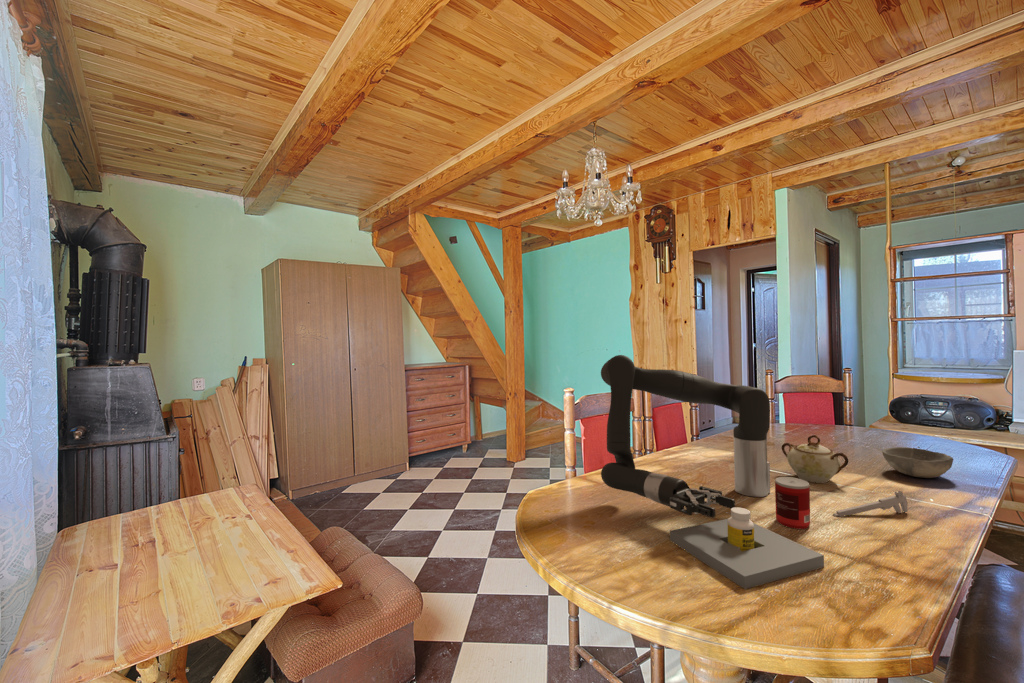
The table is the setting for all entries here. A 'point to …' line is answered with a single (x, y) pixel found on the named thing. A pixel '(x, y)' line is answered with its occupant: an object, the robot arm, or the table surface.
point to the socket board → (747, 553)
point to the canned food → (792, 502)
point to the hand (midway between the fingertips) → (724, 508)
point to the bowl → (918, 461)
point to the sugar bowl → (814, 461)
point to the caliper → (879, 505)
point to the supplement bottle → (740, 529)
